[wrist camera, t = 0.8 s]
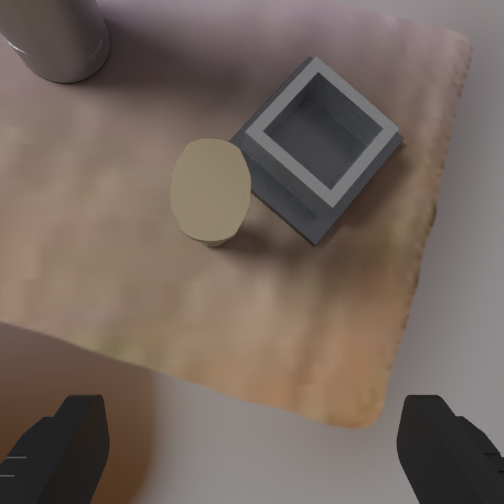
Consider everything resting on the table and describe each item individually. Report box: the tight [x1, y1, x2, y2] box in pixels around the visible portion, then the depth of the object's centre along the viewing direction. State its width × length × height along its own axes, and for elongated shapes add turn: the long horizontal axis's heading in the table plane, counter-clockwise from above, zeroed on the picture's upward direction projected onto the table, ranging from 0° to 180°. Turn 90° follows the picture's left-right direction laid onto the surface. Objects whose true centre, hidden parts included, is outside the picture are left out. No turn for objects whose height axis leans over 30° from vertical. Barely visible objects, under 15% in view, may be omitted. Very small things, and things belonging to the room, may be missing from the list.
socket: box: [229, 56, 404, 246], centre depth 35 cm, size 14×16×5 cm
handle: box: [170, 138, 251, 247], centre depth 28 cm, size 5×6×15 cm
